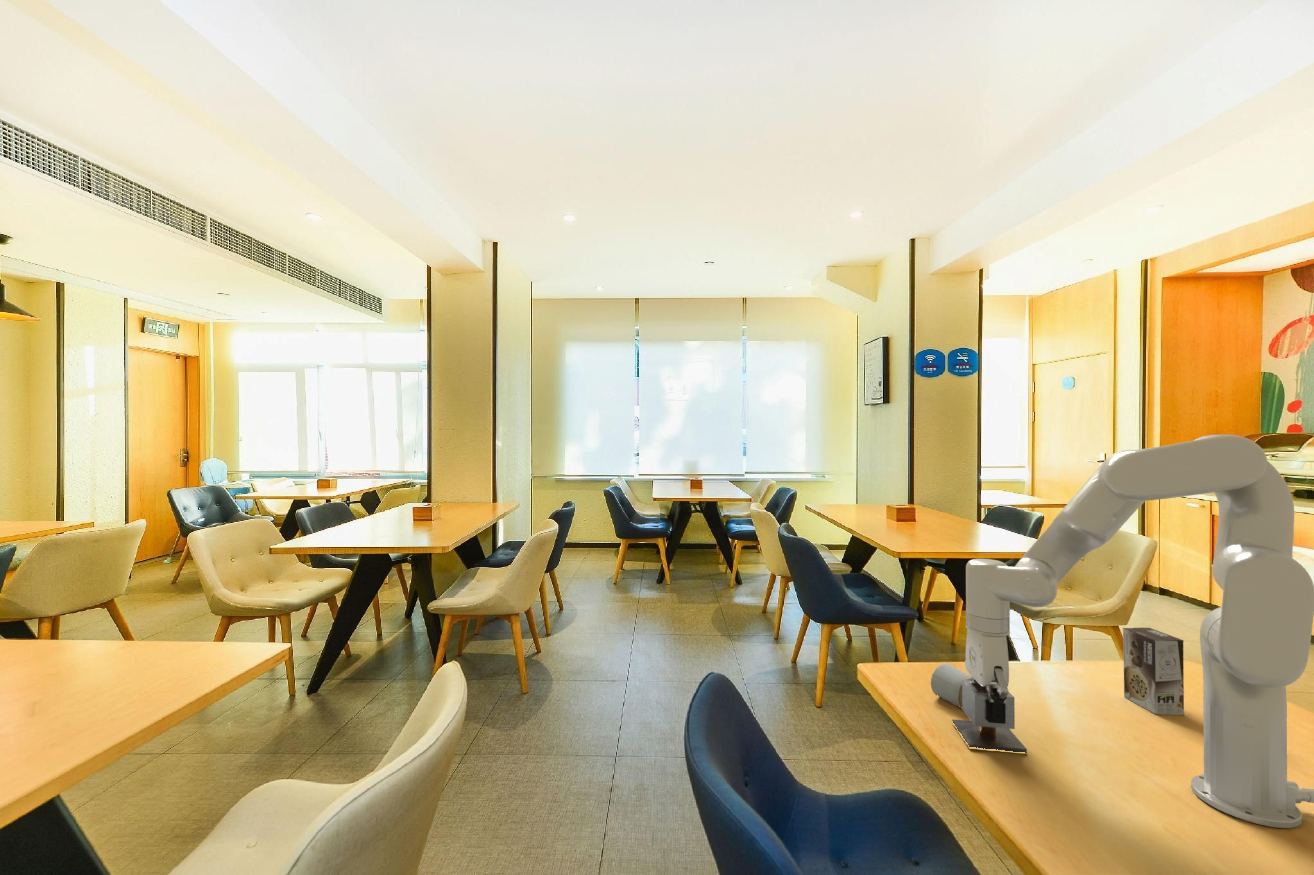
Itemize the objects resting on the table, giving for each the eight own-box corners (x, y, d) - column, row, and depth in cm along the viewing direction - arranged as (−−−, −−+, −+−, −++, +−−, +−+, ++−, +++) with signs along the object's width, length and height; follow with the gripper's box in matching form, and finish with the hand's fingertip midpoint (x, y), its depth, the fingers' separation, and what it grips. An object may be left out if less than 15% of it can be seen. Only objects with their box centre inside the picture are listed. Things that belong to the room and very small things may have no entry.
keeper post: (1004, 728, 118) (1004, 689, 118) (1026, 754, 108) (1026, 711, 108) (952, 724, 120) (952, 685, 120) (969, 749, 110) (969, 707, 110)
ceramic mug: (960, 714, 124) (961, 678, 124) (929, 698, 132) (930, 665, 132) (995, 707, 128) (995, 672, 128) (963, 692, 136) (963, 659, 136)
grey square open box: (999, 712, 117) (999, 682, 117) (1014, 729, 110) (1014, 697, 110) (962, 709, 118) (962, 680, 118) (975, 726, 111) (974, 694, 111)
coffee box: (1186, 715, 124) (1185, 640, 124) (1155, 715, 124) (1155, 640, 124) (1150, 697, 133) (1150, 626, 133) (1122, 696, 133) (1121, 626, 133)
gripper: (952, 609, 123) (953, 693, 123) (984, 636, 106) (984, 733, 106) (990, 611, 122) (991, 695, 122) (1028, 638, 105) (1029, 737, 105)
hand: (988, 712), depth 114 cm, fingers closed on grey square open box, 6 cm apart
